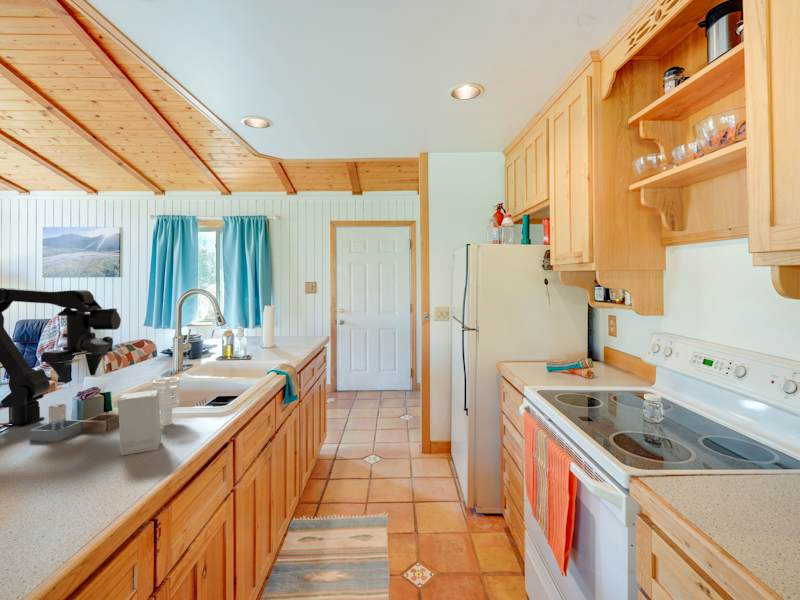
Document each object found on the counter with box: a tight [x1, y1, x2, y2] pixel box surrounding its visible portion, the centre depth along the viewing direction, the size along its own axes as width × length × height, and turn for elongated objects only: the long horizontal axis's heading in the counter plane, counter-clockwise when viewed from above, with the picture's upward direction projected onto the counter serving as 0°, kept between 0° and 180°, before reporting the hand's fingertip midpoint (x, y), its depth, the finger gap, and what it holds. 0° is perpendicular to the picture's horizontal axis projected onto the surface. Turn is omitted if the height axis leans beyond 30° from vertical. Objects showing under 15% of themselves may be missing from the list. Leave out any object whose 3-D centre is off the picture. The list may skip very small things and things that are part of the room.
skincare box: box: [117, 389, 162, 456], centre depth 95 cm, size 8×6×15 cm
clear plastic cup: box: [152, 376, 181, 427], centre depth 112 cm, size 7×7×15 cm
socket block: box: [81, 413, 119, 433], centre depth 108 cm, size 7×7×3 cm
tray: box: [29, 419, 84, 443], centre depth 102 cm, size 8×8×3 cm
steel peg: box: [48, 403, 67, 430], centre depth 102 cm, size 4×4×8 cm
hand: (79, 378), depth 114 cm, fingers open, 9 cm apart
